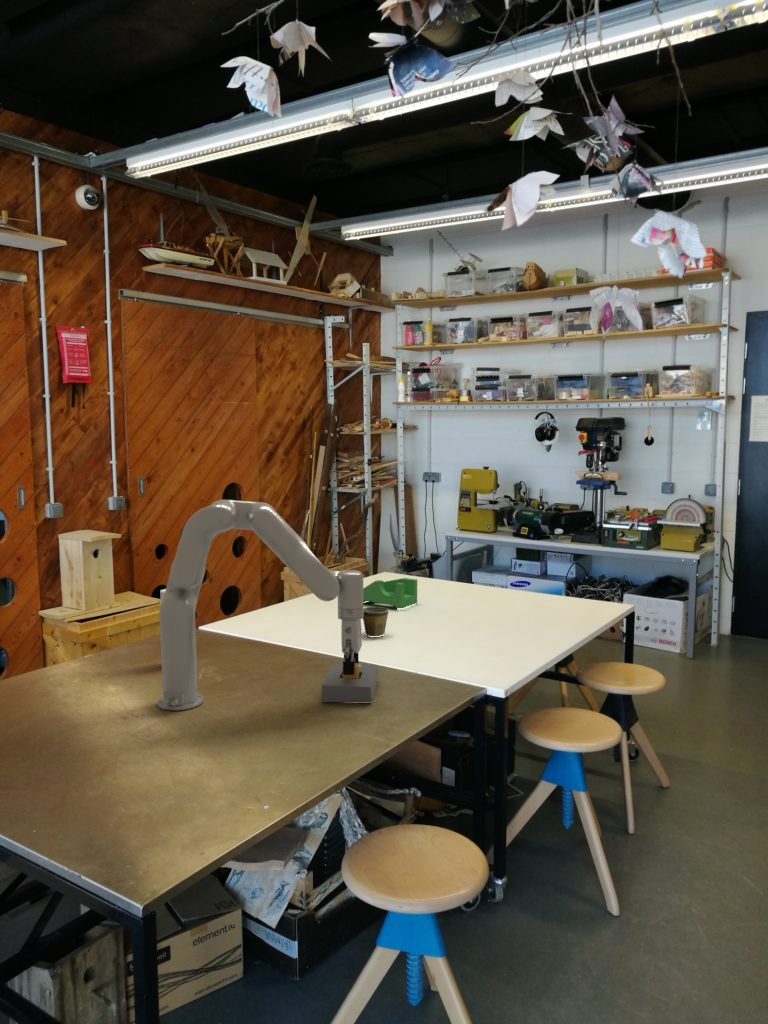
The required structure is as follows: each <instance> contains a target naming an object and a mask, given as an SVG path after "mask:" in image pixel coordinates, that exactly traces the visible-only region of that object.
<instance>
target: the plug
mask: <svg viewBox="0 0 768 1024" xmlns="http://www.w3.org/2000/svg"><path fill="white" fill-rule="evenodd" d="M353 661H354V675H344V674H343V667H342V678H353V679H359V665H360V663H355V658H353Z"/></svg>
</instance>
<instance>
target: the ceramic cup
mask: <svg viewBox="0 0 768 1024" xmlns="http://www.w3.org/2000/svg"><path fill="white" fill-rule="evenodd" d="M388 616H389V609H388V608H386V607H384V606H368V607H363V618H362V620H363V625H364V632H365V635H366V634H367V635H369V636H380V635H383V634H384V635H385V632H386V626H387V622H388V621H387V620H388Z"/></svg>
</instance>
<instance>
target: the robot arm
mask: <svg viewBox="0 0 768 1024" xmlns="http://www.w3.org/2000/svg"><path fill="white" fill-rule="evenodd" d="M230 530H244V531H246V530H247V531H252V532H253V533H254V534H255V535H256V536H257V537H258V538H259V539H260V540H261V541H262V542H263V543H264V544H265V545H266V546H267V547H268V548H269V549H270V550H271V551H272V552H273V554H275V555H276V556H277V558H278V559H279V560H280V561H281V562H282V563H283V564H284V565H285V566H286V567H287V568H288V569H289V570H290V571H291V572H292V573H293V574H294V575H296V577H297V579H299V581H301V583H303V584H304V586H305V587H306V588H308V590H310V592H312V593H313V595H314V596H315V597H316V598H318V599H319V600H321V601H323V602H331V601H333V600H335V599H336V598H337V618H338V619H339V620H341V633H340V634H341V636H340V637H341V653H343V660H342V665H343V674H344V675H354V661H353V658H355V663H359V662H360V661H359V658H360V657H359V653H360V651H361V648H362V643H363V641H362V639H363V638H362V620H363V608H364V604H363V588H364V574H363V573H362V572H361V571H360V570H356V569H355V570H354V569H349V570H348V569H347V570H346V569H345V570H332V569H331V570H329V569H327V568H326V567H325V565H324V564H322V562H321V561H320V559H318V558H317V557H316V555H315V554H314V553H313V551H311V549H310V548H309V546H308V544H307V543H306V542H305V541H304V539H303V538H302V537H301V536H300V535H299V534H298V533H297V532H296V531H295V530H294V529H293V528H292V527H291V526H290V525H289V523H288V522H287V521H286V520H284V518H283V517H282V516H281V515H280V514H279V513H278V512H277V511H276V510H275V508H274V507H273V505H271V504H269V503H267V502H262V501H261V502H259V501H245V500H233V499H218V500H216V501H214V502H212V503H211V504H210V505H208V506H204V507H202V508H200V509H199V510H197V511H195V512H194V513H193V514H192V515H191V516H190V517H189V518H188V519H187V521H186V523H185V525H184V526H183V530H182V532H181V536H180V539H179V542H178V546H177V549H176V553H175V557H174V560H173V561H172V564H171V566H170V571H169V572H170V573H169V576H168V580H167V582H166V583H167V584H166V588H165V589H166V591H165V595H164V599H163V601H162V603H161V602H160V606H159V607H160V608H159V612H158V620H159V621H158V622H159V633H160V652H161V681H162V682H161V684H162V687H161V688H162V696H161V697H159V698H157V701H156V703H157V704H156V705H157V707H158V708H160V709H163V710H166V711H184V710H190V709H193V708H197V707H198V706H200V705H201V704H202V703H203V702H204V696H203V695H202V694H200V693H198V673H197V672H198V670H197V668H198V667H197V666H198V665H197V639H196V638H197V636H196V609H197V604H198V598H199V595H200V591H201V588H202V584H203V581H204V578H205V574H206V564H207V559H208V555H209V552H210V549H211V547H212V543H213V540H214V538H215V537H217V535H219V534H221V533H226V532H229V531H230ZM359 664H360V663H359Z"/></svg>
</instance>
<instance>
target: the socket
mask: <svg viewBox="0 0 768 1024" xmlns="http://www.w3.org/2000/svg"><path fill="white" fill-rule="evenodd" d="M342 667H343V663H342V664H338V663H337V664H336V663H335V664H334V663H332V665H331V667H330V669H329V671H328V673H327V675H326V677H325V679H324V681H323V682H322V684H321V703H322V702H371V700H372V701H373V699H372V697H373V698H374V696H373V694H374V695H375V693H374V690H375V691H376V689H375V687H376V688H377V686H376V684H377V685H378V683H377V680H378V681H379V665H377V664H373V665H369V664H359V679H353V678H342ZM371 703H372V702H371Z"/></svg>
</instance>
